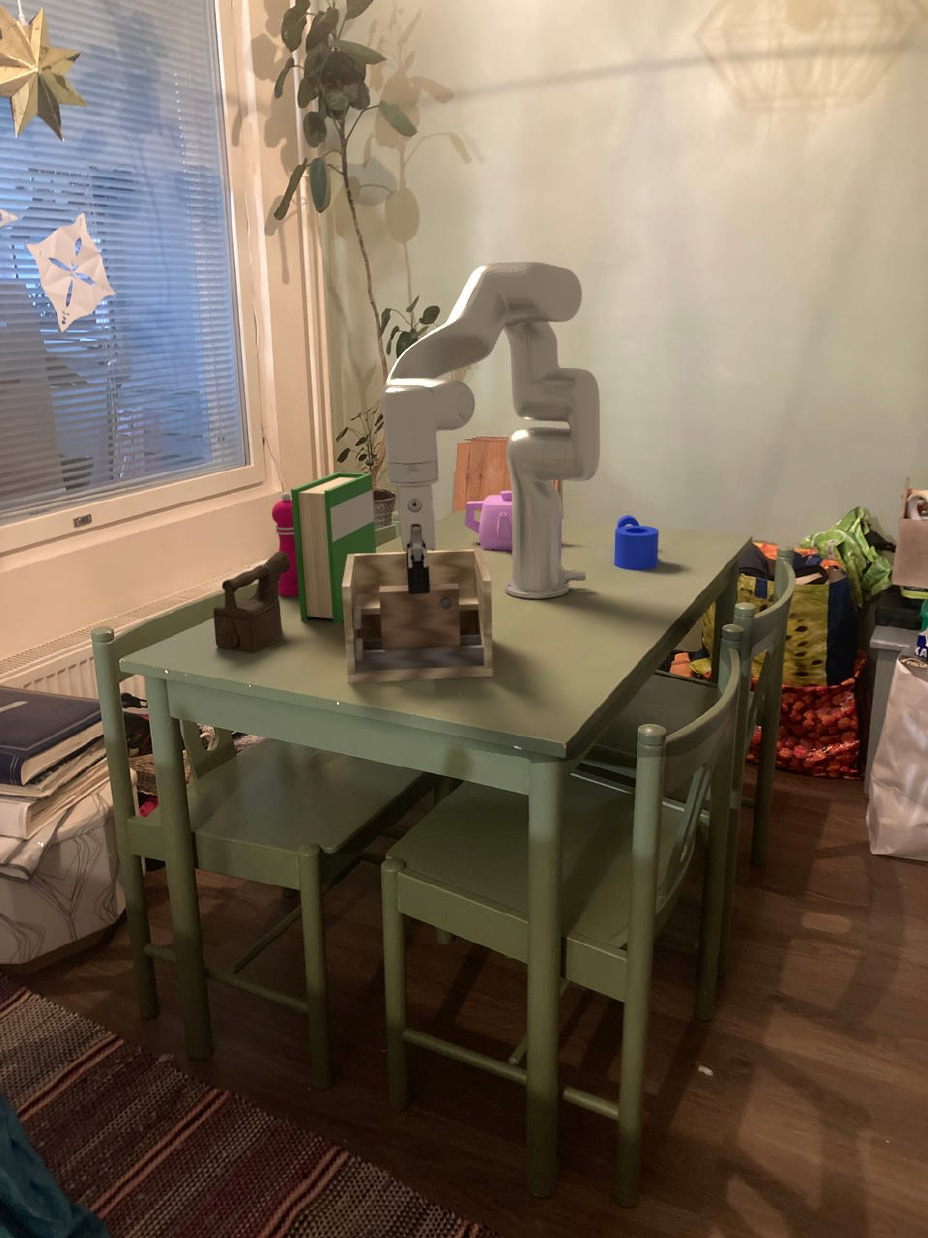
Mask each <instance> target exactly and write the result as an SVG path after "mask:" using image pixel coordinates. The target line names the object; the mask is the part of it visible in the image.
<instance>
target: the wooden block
mask: <svg viewBox="0 0 928 1238" xmlns="http://www.w3.org/2000/svg"><path fill="white" fill-rule="evenodd" d="M379 597H380V616H381V635H382V650H386V649H409V648H431V647H454V646H460V616H459V587H458V583H453V584H430V592H429V593H421V594H409V592H408V585H403V586H380V588H379Z"/></svg>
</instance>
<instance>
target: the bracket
mask: <svg viewBox="0 0 928 1238" xmlns="http://www.w3.org/2000/svg"><path fill="white" fill-rule="evenodd" d="M659 537H660V536H659V529H658V528H654V527H652V526H645V525H640V524H639V521H638V520H637V519H636V518H635V516H633V515H630V514H629V515H624V516H621V517H620V518H619V520H618V521H617V524H616V528H615V530H614V561H613V562H614V565H613V566H615V567H617V568H619V569H623V570H629V571H643V570H645V571H647V570H651V569H652V570H653V569H654V568H657V567H658V559H659V557H658V556H659V555H658V554H659Z"/></svg>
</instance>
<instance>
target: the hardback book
mask: <svg viewBox="0 0 928 1238" xmlns="http://www.w3.org/2000/svg"><path fill="white" fill-rule="evenodd" d="M373 488H374V487H373V473H365V472H362V473H361V472H360V473H359V472H341V471H340V472H339V471H338V472H334V473H331V474H329V475H328V474H327V475H325V476H322V477H321V478H317V479H314V480H312V481H310V482H307V483H304V484H301V485H299V486H296V487H293V488H291V489H290V493H291V494H290V496H291V500H292V510H293V522H294V535H295V548H296V561H297V573H298V586H299V595H298V597H299V609H300V620H301V621H305V620H306V621H307V620H310V618H313V617H315V618H322V619H323V618H324V619H325V618H326V619H332V624H336V623H337V624H338V625H339V624H340V623H341V622H343V621H344V612H343V597H342V583H343V577H344V572H345V566H346V561H347V555H348V554H363V553H377V544H376V542H377V541H376V527H375V526H376V525H375V505H374V489H373ZM339 622H340V623H339Z"/></svg>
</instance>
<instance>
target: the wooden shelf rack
mask: <svg viewBox="0 0 928 1238" xmlns="http://www.w3.org/2000/svg"><path fill="white" fill-rule="evenodd" d="M427 566H429V579H430V584H453V583H458V587H459V616H460V646H454V647H431V648H409V649H386V650H382V635H381V616H380V597H379V588H380V586H403V585H408V577H407V557H406V552H405V551H395V552H390V551H389V552H376V553H363V554H348V555H347V561H346V566H345V572H344V577H343V583H342V597H343V612H344V620H343V625H344V641H345V642H344V643H345V655H346V656H345V657H346V658H345V659H346V670H347V671H346V672H347V683H348V684H353V683H354V684H355V683H356V684H357V683H358V684H359V683H376V682H395V681H398V682H399V681H417V680H418V681H420V680H421V681H422V680H438V679H439V680H441V679H442V680H443V679H444V680H445V679H462V678H464V679H465V678H483V677H486V678H487V677H494V674H493V672H494V671H493V668H494V667H493V664H494V663H493V662H494V661H493V610H492V609H493V607H492V605H493V604H492V603H493V602H492V600H493V598H492V591H493V590H492V579H491V576H490V572H489V570H488V567H487V564H486V561H485V558H484V555H483V552H482V548H474V549H473V548H468V549H449V550H446V549H445V550H443V549H442V550H434V551H432V550H427Z"/></svg>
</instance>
